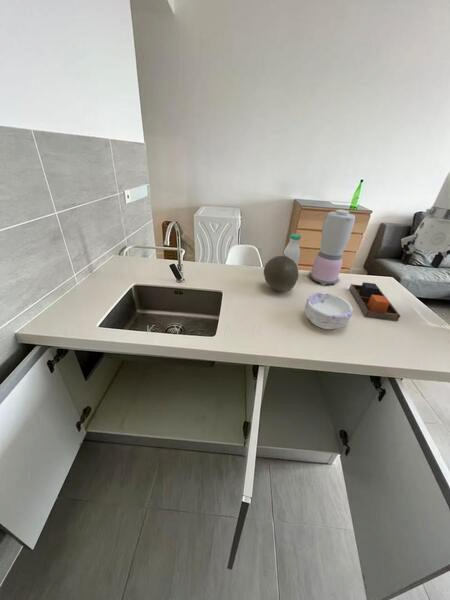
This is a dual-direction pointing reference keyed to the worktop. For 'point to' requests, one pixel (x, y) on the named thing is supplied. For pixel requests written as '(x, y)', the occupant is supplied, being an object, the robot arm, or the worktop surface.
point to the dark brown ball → (281, 273)
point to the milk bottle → (293, 248)
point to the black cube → (368, 289)
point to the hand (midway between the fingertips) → (418, 265)
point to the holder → (362, 303)
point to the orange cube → (378, 303)
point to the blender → (332, 246)
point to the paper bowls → (328, 310)
